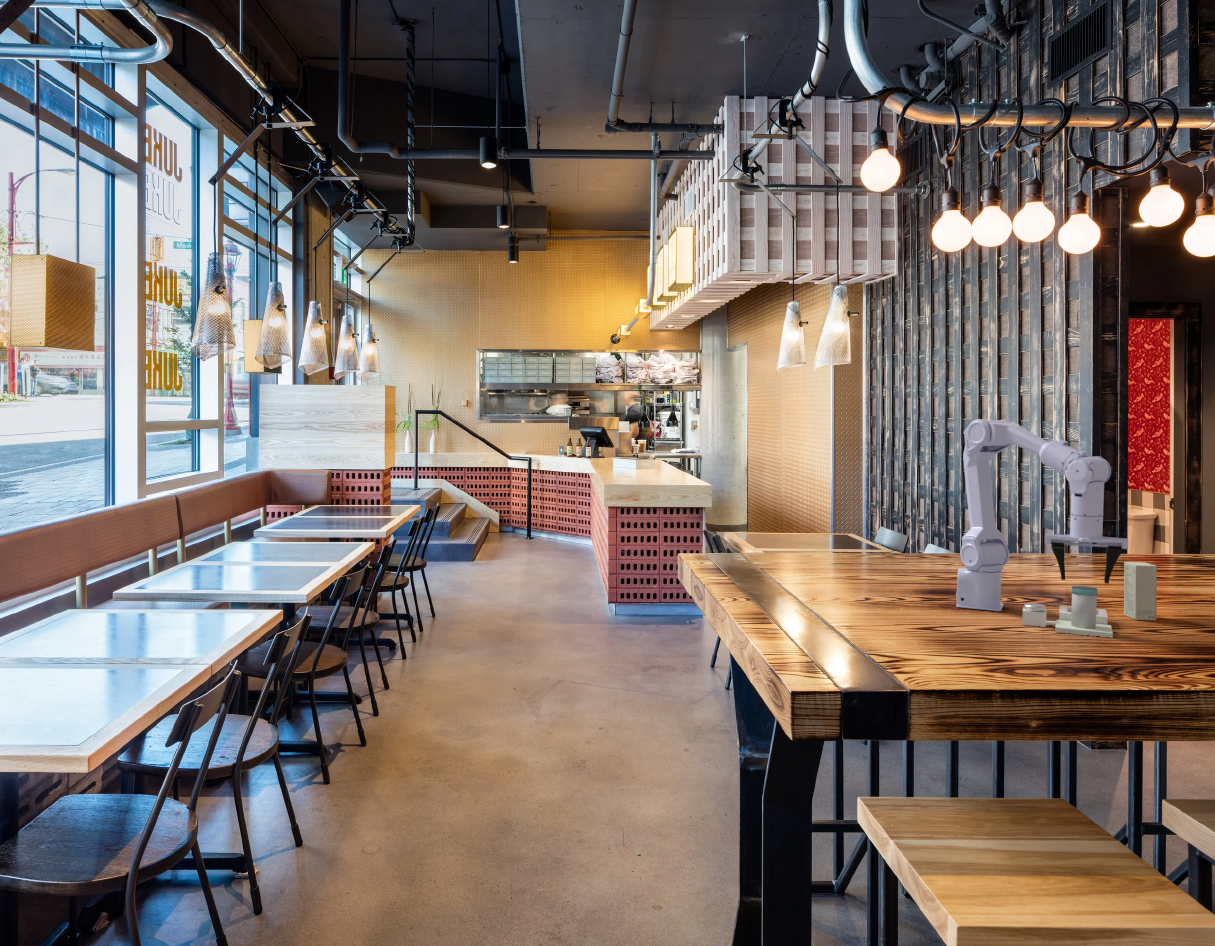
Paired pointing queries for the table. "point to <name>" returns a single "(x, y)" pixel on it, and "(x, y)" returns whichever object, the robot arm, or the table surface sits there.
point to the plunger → (1034, 607)
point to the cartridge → (1084, 607)
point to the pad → (1084, 629)
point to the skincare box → (1140, 590)
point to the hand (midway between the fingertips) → (1084, 581)
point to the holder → (1064, 614)
